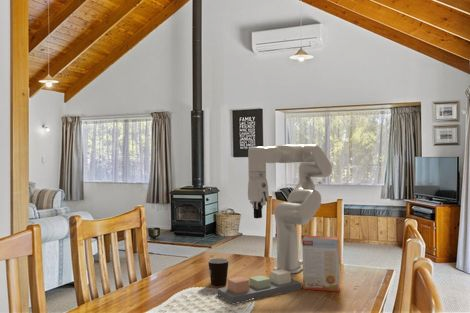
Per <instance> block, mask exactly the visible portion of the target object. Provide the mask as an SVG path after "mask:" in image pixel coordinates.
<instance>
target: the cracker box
mask: <svg viewBox="0 0 470 313" xmlns="http://www.w3.org/2000/svg"><path fill="white" fill-rule="evenodd" d="M301 244H302V260H303V264H302V284H303V285H302V288H303V290H314V291H325V292H326V291H327V292H334V293H338V292H339V291H340V245H339V244H340V243H339V236H326V235H325V236H323V235H322V236H321V235H304V236H303V237H302V243H301Z"/></svg>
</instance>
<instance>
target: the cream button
mask: <svg viewBox="0 0 470 313" xmlns="http://www.w3.org/2000/svg"><path fill="white" fill-rule="evenodd" d="M269 278H270V279H271V282H273V283H275V284H278V285H281V284H286V283H290V282H291V279H292V274H291V272H289V271H286V270H283V269H279V270H274V269H273V270H270V272H269Z"/></svg>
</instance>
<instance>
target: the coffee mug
mask: <svg viewBox="0 0 470 313" xmlns="http://www.w3.org/2000/svg"><path fill="white" fill-rule="evenodd" d="M207 262H208V263H207V264H208V269H209V270H208V271H209V277H210V284H211V286H212V287H217V288H222V287H226V286H227V284H228V271H229V259H227V258H224V257H223V258H221V257H217V258H215V257H214V258H210V259H209V260H208V261H207Z"/></svg>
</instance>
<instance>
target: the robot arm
mask: <svg viewBox="0 0 470 313" xmlns="http://www.w3.org/2000/svg"><path fill="white" fill-rule="evenodd" d="M247 152H248V153H247V155H248V158H247V160H248V161H247V162H248V168H247V169H248V182H247V183H248V184H247V199H248V201H249V203H250V204H251V205H252V208H253V219H262V218H263V209H264V208H263V206H266V205H267V203H268V202H269V201H270V200H269V199H270V197H269V196H270V194H269V185H268V180H267V164H276V163H277V164H288V163H289V164H293V163H294V164H295V163H300V164H299V166H298V175H299V180H298V183H297V184H296V186H295V187H294V188H293V189H292V190H291V192H290V193H289V195H288V197H287V202H283V201H282V202H279V203H278V204H277V205H276V206H275V207H274V210H273V214H274V220H275V225H276V226H275V227H276V265H275V266H273V271H274V270H279V269H283V270H286V271H289V272H291V275H293V274H298V273H301V271H302V267H301V265H303V259H302V260H301V259H299V258H298V252H299V251H298V231H297V227H296V226H295V225H300V226H304V225H307V224H308V223H309V222H310V221H311V220H312V219H313V218H314V216H315V214H316V213H317V212H318V210H319V208H320V206H321V203H322V195H321V193H320V192H319V191H317V190H316V187H315V183H314V181H313V179H312V178H327V177H329V176H331V174H332V169H333V167H332V164H331V162H330V160H329V158H328V157H327V155H326V153H325V152H324V150H323V149H322V148H321V147H320V146H319V145H317V144H313V143H312V144H283V145H282V144H280V145H273V146H272V145H269V146H268V145H263V146H251V147H249V148H248V151H247Z"/></svg>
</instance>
